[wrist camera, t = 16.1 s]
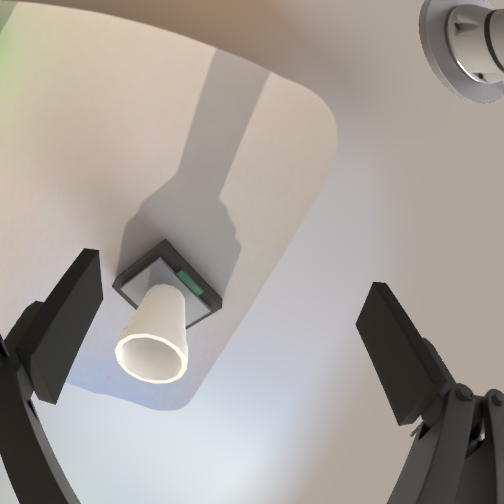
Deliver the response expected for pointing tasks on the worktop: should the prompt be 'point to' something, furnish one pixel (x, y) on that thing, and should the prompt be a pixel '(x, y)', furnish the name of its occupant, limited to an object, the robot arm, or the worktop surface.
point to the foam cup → (156, 337)
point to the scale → (168, 282)
